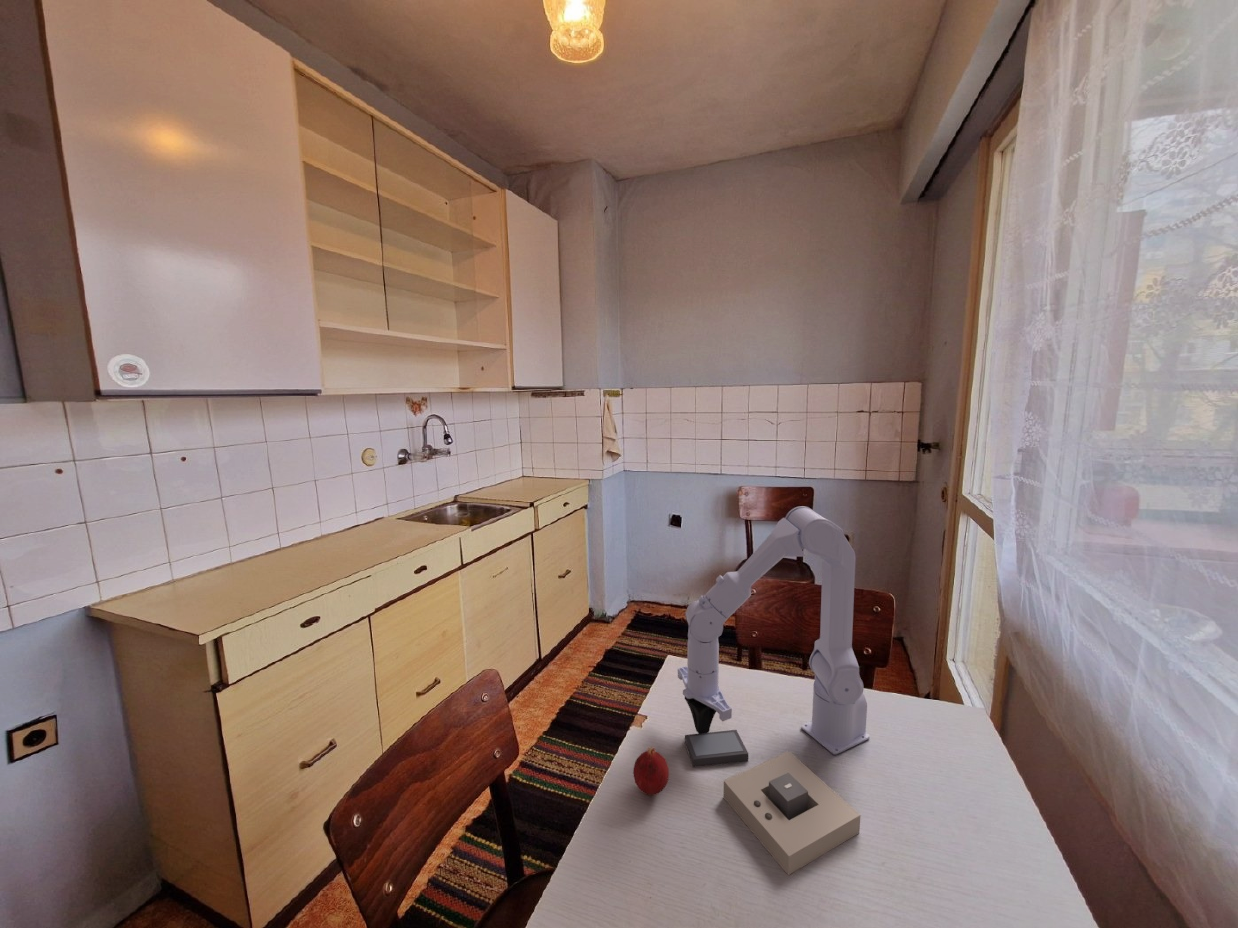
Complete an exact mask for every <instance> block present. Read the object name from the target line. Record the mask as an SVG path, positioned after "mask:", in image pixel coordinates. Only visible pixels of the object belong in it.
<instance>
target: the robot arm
mask: <svg viewBox="0 0 1238 928" xmlns="http://www.w3.org/2000/svg"><path fill="white" fill-rule="evenodd" d="M844 533H845V532H844V529H843V528H841V527H840V526H838V525H837V524H836V523H834V522H833V521H831V520H829V519H827V518H825V517H824V516H822V515H820V513H818V512H816V511H815V510H813V509H812V508H810V507H809V506H803V505H802V506H800V505H799V506H796V507H793V508H792V509H790V510H789V511H788V512H787V513H786V515H785V517H782V518H781V519H780V520H779V521H777V523H776V524H775V526H774V527H773V530H772V531H771V532H770V534H769V535H768V536H767V537H766V538H765V540H763V542H762V543H761V544H760V545H759V546H758V548H757V549H756V550H754V552H753V553H752V554H751V556H749V558H748V559H747V560H746V561H745V562H744V563H743V564H742V566H740V568H738V570H737V571H727V572H726V573H725V574H724V575H723V576H722V575H721V574H719V576H717V577H716V579H715V582H716V583H715V584H714V585H713V586H712V587H710V589H709V590H708V591H707V592H706V593H705V594H704V595H700V596H699V597H698V599H697V600H694V601H692V602H691V603H689V605H688V606H687V608H686V611H684V615H685V619H686V621H687V625H688V632H687V638H688V639H687V642H686V643H687V658H686V659H687V660H686V661H687V666H686V665H685V666H682V667H678V668H677V678H678V679H679V680H680V681H681V680H682V683H683V684H684V689H682V695H683V696H684V700H685V702H686V703H687V706H688V708H689V710H690V713H691V716H692V720H693V723H694V727H695V731H696V732H697V734H699V733H709V732H710V729H711V725H712V721H713V720H714V717H715V715H716V713H717V714H718V715H719V720H720V721H722V722H724V721H728V720H730V719H732V711H733V709H732V707H731V706H730V705H729V704H728V702H727V700H726V698H725V696H724V694H723V692H722V689H721V688H720V686H719V678H720V677H719V670H720V669H719V668H720V667H719V662H720V660H719V659H720V656H719V655H720V654H719V651H720V648H719V647H720V643H719V637H720V636H722V634H723V631H724V624H725V623H726V622H727V620H728V619H729V618H730V617H731V616H732V615H733V614H734V613H735V612H736V611H738V609H739V608H741V606H742V605H743V604H745V602H746V601H747V600H748V599H749V598H750V597H751V595H752V585H754V584H755V583H756V582H757V581H758V580H760V579H761V578H762V577H763V576H764V575H766V573H767V572H769V571H770V570H771V569H772V568H773V567H775V565H777V564H778V563H779V562H780V561H781V560H782V559H783V558H785V557H801V558H803V557H805V556H806V555H805V553H804V551H803V550H805V551H807V552H808V553H810V554H812V555H814V556H817V557H820V558H821V560H822V566H821V567H822V568H821V599H820V600H821V601H820V602H821V603H820V628H819V629H820V633H819V638H817V640H815V641H814V648H813V650H812V653H811V655H810V657H809V660H808V663H809V668H810V669H811V671H812V673H814V680H813V681H814V682H813V690H812V711H811V713H812V714H811V715H812V716H811V721H808V722H806V723H804V724H801V727H800V728H801V729H802V730H803V732H805V733H806V734H808V735H809V736H810V737H811V738H813V739H814V740H815V741H816V742H818V743H819V744H820V745H821V746H823V747H824V748H825V749H826V750H828V751H829V752H830V753H831V754H833V755H835V756H836V755H838V754H840V753H842V752H844V751H846V750H848V749H850V748H852V747H856V746H857V745H858V744H861V743H863V742H865V741H867V740H869V739H870V736H871V735H870V734H869V733H867V732H866V730H867V729H866V728H867V716H868V715H867V713H868V702H867V699H866V696H865V695H864V690H865V689H864V682H863V680H862V679H861V676H860V666H859V663H858V660H857V658H856V655H855V652H854V650H853V645H852V644H853V625H854V624H853V623H854V604H855V603H854V602H855V601H854V600H855V576H856V553H855V550H854V549H853V546H851V544H850V542H849V541H848V539H847V537H846V536H845V534H844Z"/></svg>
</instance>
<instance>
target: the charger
mask: <svg viewBox="0 0 1238 928" xmlns="http://www.w3.org/2000/svg"><path fill="white" fill-rule="evenodd" d="M768 799H769V800H770V801H771V802H772V803H773V804H774V805H775V806H776V807H777V808H778V809H779V810H780V811H781V812H782V814H783V815H784V816H785V817H786V818H787V819H788V820H791V819H793V818H795V817H796V816H798V815H800V814H802V813H804V812H806V811H807V804H808V791H807V790H806V789H805V788H804V787H803V786H802V785H801V784H800V783H799V782H798V781H797V780H796V779H795V778H794V777H793V776H791V775H790V774H789V773H786V774H784V775H782V776H780V777H778V778H776V779H773V780H771V781H769V794H768Z"/></svg>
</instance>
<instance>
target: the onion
mask: <svg viewBox="0 0 1238 928" xmlns="http://www.w3.org/2000/svg"><path fill="white" fill-rule="evenodd" d="M669 770H670V769H669V766H668V763H667V760H666V759H665V757H664V756H663V755H662V754H661V753H659V752H658V751H656V748H654V747H653V746H650V747H648V748H647V750H646V751H644V752H642V753H641V754H639V755H638V757H637V758H636V760H635V763H634V766H633V773H632V774H633V779H634V784H635V785H636V786H637V788H638V789H639V790H640V791H641V792H642V793H643V794H645V795H649V796H654V795H658V794H659V793H662V791H663V790H664V789H665V787H666V786H667V784H668V782H669V775H670V771H669Z"/></svg>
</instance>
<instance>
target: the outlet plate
mask: <svg viewBox="0 0 1238 928" xmlns="http://www.w3.org/2000/svg"><path fill="white" fill-rule="evenodd" d="M786 773H789V774H790V775H791V776H793V777H794V778H795V779H796V780H797V781H798V782H799V783H800V784H801V785H802V786H803V787H804V788H805V789H806V790H807V791H808V804H807V811H806V812H804V813H802V814H800V815H798V816H796V817H795V818H793V819H791V820H788V819H787V818H786V817H785V816H784V815H783V814H782V812H781V811H780V810H779V809H778V808H777V807H776V806H775V805H774V804H773V803H772V802H771V801H770V800H769V799H768V794H769V781H771V780H773V779H776V778H778V777H780V776H782V775H784V774H786ZM722 796H723V798H724V799H725V801H726V802H727V803H728V804H729V806H730V807H731V808H732V809H733V810H734V812H735V813H736V814H737V815H738V817H739V818H740V819H741V820H742V821H743V822H744V824H745V826H747V827H748V829H749V830H750V831H751V832H752V834H754V835H755V836H754V837H756V838H757V840H759V842H760V843H761V844H762V846H763V847H764V848H765V849H766V850H767V851H768V852H769V854H770V855H771V856H772V857H773V859H774V860H775V861H776V862H777V864H778V865H779V866H780V867H781V869H782V870H783V871H784V872H785V873H786V875H787V876H790V875H791V874H793V873H795V872H797V871H798V870H800V869H801V868H803V867H805V866H807V865H808V864H810V863H811V862H813V861H814V860H816V859H818V858H820V857H821V856H823V855H825V854H827V853H828V852H830V851H831V850H833V849H834V848H835V849H836V847H838V846H840V845H841V844H843V843H844V842H847V841H848V840H849V839H851V838H853V837H855V836H856V835H858V834H859V833H860V829H861V828H860V827H861V814H860V813H859V812H858V811H857V810H856V809H855V808H854V807H852V806H851V805H850V804H849V803H848V802H847V801H846V800H844V798H842V797H841V796H840V795H839V794H838V793H836V792H835V790H833V788H832V787H830V786H829V785H827V784H826V782H824V781H823V780H822V779H821V778H820V777H819V776H817V774H815V772H814V771H812V770H811V769H810V768H809V767H807V765H805V764H804V763H803V762H802V761H800V759H799V758H797V757H796V756H795V755H794V753H793V754H792V752H790V751H786V752H783V753H782V754H780V755H777V756H775V757H772V758H771V759H769V760H766V761H764V762H762V763H760V764H758V765H755V766H752V767H751V768H749V769H747V770H744V771H742V772H739V773H738V774H735V775H733V776H731V777H729V778H727V779H724V780H723V795H722Z"/></svg>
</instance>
